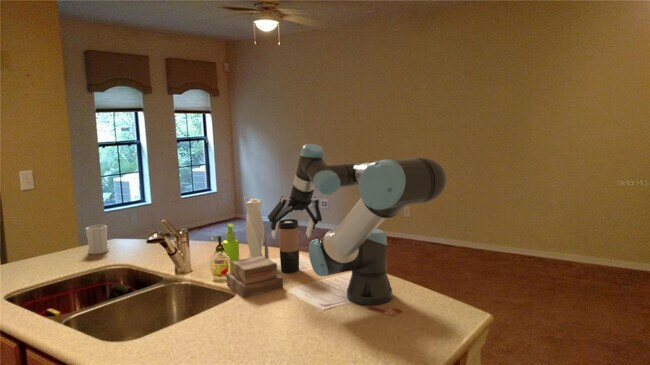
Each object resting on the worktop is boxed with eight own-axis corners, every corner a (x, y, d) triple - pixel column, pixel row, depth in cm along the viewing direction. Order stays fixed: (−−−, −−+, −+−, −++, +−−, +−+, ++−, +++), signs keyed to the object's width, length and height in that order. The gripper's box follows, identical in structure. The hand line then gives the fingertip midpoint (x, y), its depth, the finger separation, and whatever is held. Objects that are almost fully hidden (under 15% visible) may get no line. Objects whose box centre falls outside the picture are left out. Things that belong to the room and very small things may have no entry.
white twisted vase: (251, 264, 193) (247, 198, 189) (244, 260, 200) (240, 195, 196) (269, 261, 197) (267, 196, 194) (262, 256, 204) (259, 193, 201)
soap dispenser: (227, 277, 178) (225, 226, 175) (223, 272, 184) (220, 223, 181) (242, 275, 181) (240, 224, 178) (237, 270, 187) (235, 221, 184)
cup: (80, 254, 215) (77, 228, 213) (93, 248, 224) (91, 224, 222) (101, 254, 213) (98, 229, 211) (113, 249, 222) (111, 224, 220)
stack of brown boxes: (283, 288, 166) (282, 263, 165) (244, 297, 158) (242, 272, 156) (264, 276, 178) (263, 253, 177) (227, 285, 170) (225, 261, 169)
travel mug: (301, 267, 188) (299, 218, 186) (298, 273, 181) (296, 223, 178) (282, 267, 189) (280, 219, 186) (278, 273, 182) (276, 223, 179)
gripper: (331, 182, 170) (318, 229, 180) (266, 180, 159) (255, 230, 169) (339, 192, 164) (325, 241, 174) (272, 191, 153) (260, 243, 163)
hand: (290, 236), depth 171 cm, fingers open, 13 cm apart
